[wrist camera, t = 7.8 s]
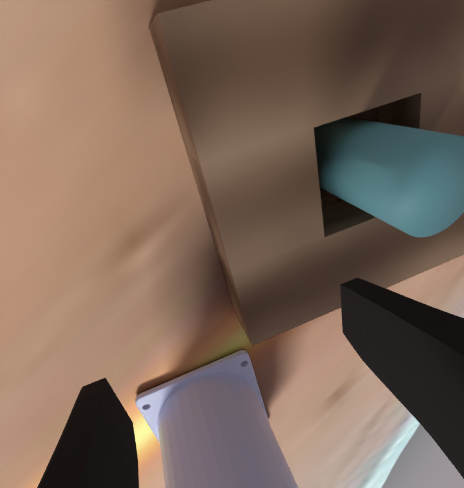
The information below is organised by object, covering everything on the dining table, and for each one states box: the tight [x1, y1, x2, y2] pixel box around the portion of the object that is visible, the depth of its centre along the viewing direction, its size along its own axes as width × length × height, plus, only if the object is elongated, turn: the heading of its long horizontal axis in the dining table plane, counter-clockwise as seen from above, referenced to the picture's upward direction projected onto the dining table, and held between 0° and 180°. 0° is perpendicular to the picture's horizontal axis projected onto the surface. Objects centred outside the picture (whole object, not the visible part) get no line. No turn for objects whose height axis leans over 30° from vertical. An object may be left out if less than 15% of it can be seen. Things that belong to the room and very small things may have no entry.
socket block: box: [149, 0, 464, 345], centre depth 17 cm, size 16×16×3 cm
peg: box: [314, 117, 464, 237], centre depth 16 cm, size 4×4×7 cm
